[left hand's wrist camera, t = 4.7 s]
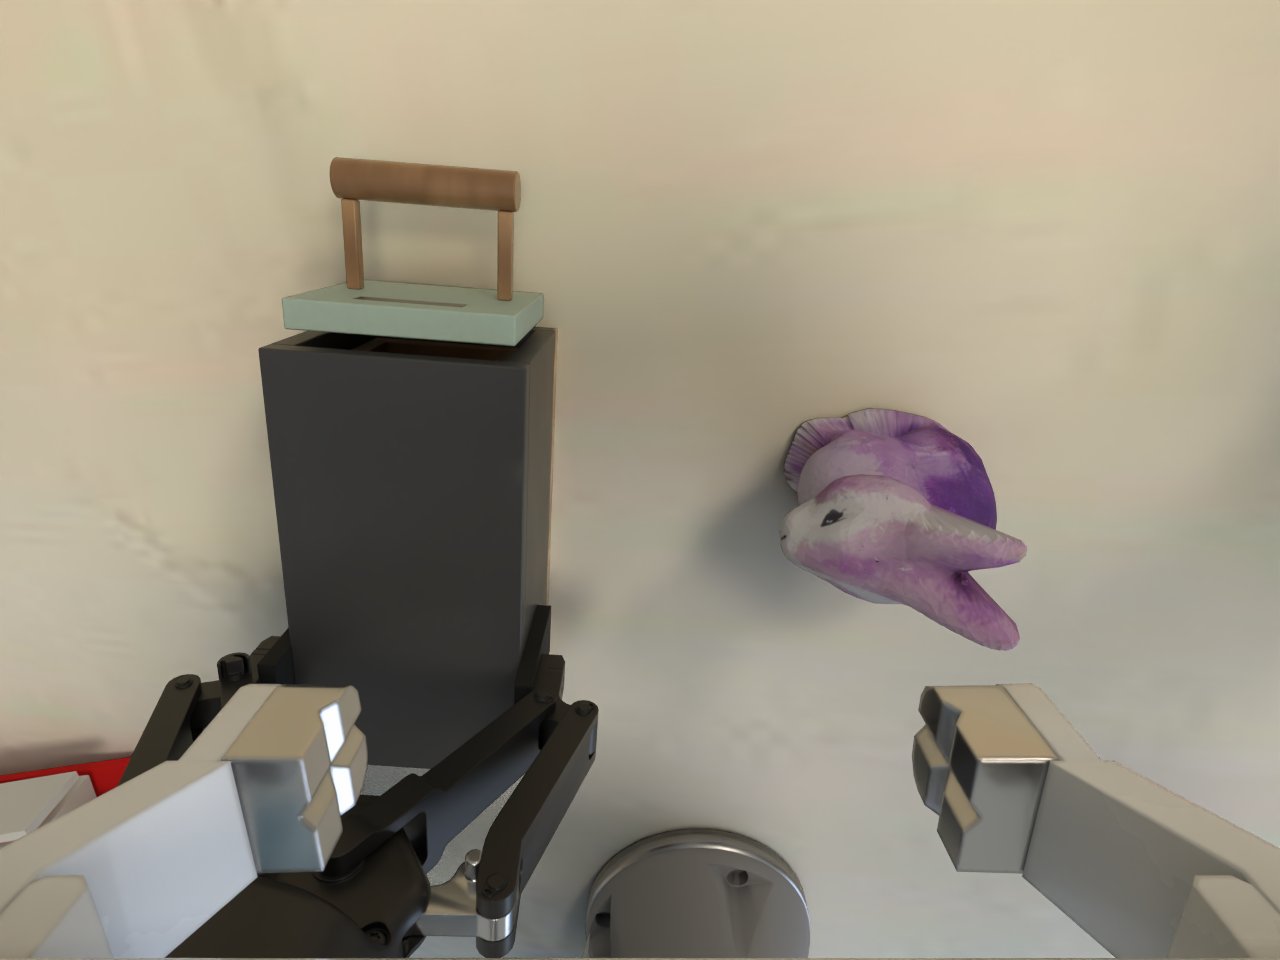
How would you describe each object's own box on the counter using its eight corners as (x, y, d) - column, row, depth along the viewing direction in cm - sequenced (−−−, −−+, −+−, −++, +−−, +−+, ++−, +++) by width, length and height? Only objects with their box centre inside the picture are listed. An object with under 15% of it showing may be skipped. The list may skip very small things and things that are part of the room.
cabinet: (355, 312, 37) (256, 347, 28) (557, 328, 37) (526, 367, 28) (376, 644, 44) (302, 761, 35) (546, 655, 44) (518, 775, 35)
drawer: (351, 161, 34) (266, 147, 26) (546, 176, 34) (517, 167, 26) (377, 608, 42) (318, 694, 35) (535, 619, 42) (510, 708, 35)
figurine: (739, 446, 39) (788, 579, 25) (920, 358, 37) (1083, 448, 23) (808, 584, 42) (888, 774, 28) (980, 509, 40) (1157, 670, 26)
